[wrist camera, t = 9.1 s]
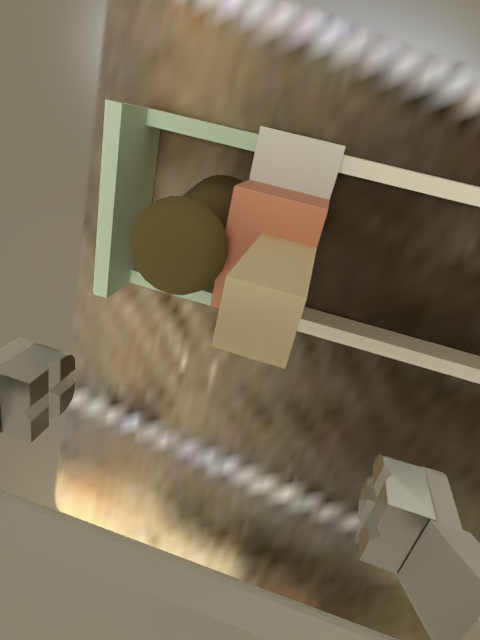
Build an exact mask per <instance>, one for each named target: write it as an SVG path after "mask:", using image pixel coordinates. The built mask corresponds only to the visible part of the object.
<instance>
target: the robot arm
mask: <svg viewBox="0 0 480 640" xmlns="http://www.w3.org/2000/svg"><path fill="white" fill-rule="evenodd" d="M74 370H75V358H74V357H73V356H72V355H71V354H68V353H65V352H62V351H60V350H57V349H54V348H51V347H48V346H45V345H42V344H38V343H36V342H33V341H30V340H27V339H24V338H19V339H16V340H14V341H13V342H11V343H9V344H7V345H6V346H4V347H2V348H1V349H0V433H3V434H7V435H9V436H12V437H16V438H19V439H22V440H25V441H28V442H32V441H33V440H34V439H35V438H37V437H38V436H39V435H40V434H41V433H42V432H43V431H44V430H45V429H46V428H47V427H48V426H49V419H50V418H53V417H56V416H60V415H61V414H62V413H63V412H64V411H65V410H66V409H67V407H68V405H69V404H70V402H71V400H72V398H73V394H74V390H75V382H74V380H73V379H72V377H71V375H70V373H71V372H72V371H74ZM358 516H359V520H360V521H361V523H362V524H363V527H362V529H361V531H360V533H359V554H360V560H361V561H364V562H367V563H369V564H372V565H374V566H377V567H380V568H382V569H385V570H387V571H390V572H393V573H395V574H398V575H397V578H398V579H399V581H400V583H401V585H402V587H403V589H404V590H405V592H406V594H407V596H408V598H409V600H410V602H411V603H412V605H413V607H414V609H415V611H416V613H417V614H418V616H419V618H420V620H421V622H422V624H423V626H424V627H425V629H426V631H427V633H428V635H429V637H430V638H431V640H480V543H479V542H478V541H477V540H476V539H475V538H474V537H473V536H472V535H471V533H469V532H467V531H464V530H463V529H462V525H461V522H460V519H459V515H458V512H457V509H456V505H455V502H454V498H453V495H452V492H451V488H450V485H449V482H448V478H447V476H446V475H445V474H444V473H443V472H439V471H436V470H432V469H429V468H426V467H420V466H417V465H414V464H410V463H407V462H404V461H401V460H398V459H395V458H391V457H388V456H385V455H382V454H379V455H378V457H377V458H376V460H375V462H374V464H373V476H372V477H370V478H368V479H366V481H365V484H364V486H363V488H362V492H361V496H360V500H359V509H358ZM0 640H398V639H396V638H393V637H390V636H388V635H385V634H382V633H380V632H377V631H374V630H372V629H369V628H366V627H364V626H361V625H359V624H356V623H353V622H351V621H348V620H345V619H343V618H340V617H337V616H335V615H332V614H329V613H327V612H324V611H321V610H319V609H316V608H313V607H311V606H308V605H305V604H303V603H300V602H297V601H295V600H292V599H290V598H287V597H284V596H282V595H279V594H276V593H274V592H271V591H268V590H266V589H263V588H261V587H258V586H255V585H253V584H250V583H247V582H245V581H242V580H239V579H237V578H234V577H231V576H229V575H226V574H224V573H221V572H218V571H216V570H213V569H210V568H208V567H205V566H202V565H200V564H197V563H194V562H192V561H189V560H187V559H184V558H181V557H179V556H176V555H173V554H171V553H168V552H165V551H163V550H160V549H157V548H155V547H152V546H149V545H147V544H144V543H142V542H139V541H136V540H134V539H131V538H128V537H126V536H123V535H120V534H118V533H115V532H112V531H110V530H107V529H104V528H102V527H99V526H96V525H94V524H91V523H88V522H86V521H83V520H81V519H78V518H75V517H73V516H70V515H67V514H65V513H62V512H59V511H57V510H54V509H51V508H49V507H46V506H43V505H40V504H38V503H35V502H33V501H30V500H27V499H25V498H22V497H20V496H16V495H14V494H11V493H9V492H6V491H4V490H1V489H0Z"/></svg>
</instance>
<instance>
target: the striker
mask: <svg viewBox="0 0 480 640" xmlns="http://www.w3.org/2000/svg"><path fill="white" fill-rule="evenodd" d="M345 147H346V146H343V145H339V144H334V143H330V142H326V141H322V140H318V139H313V138H309V137H305V136H301V135H297V134H292V133H288V132H284V131H280V130H276V129H271V128H267V127H263V126H260V130H259V135H258V140H257V145H256V149H255V154H254V159H253V163H252V168H251V173H250V177H249V180H246V181H244V182H242V183H239V184H237V185H234V189H233V194H232V199H231V204H230V209H229V214H228V220H227V225H226V230H225V233H226V236H227V258H226V261H225V264H224V268H223V270H222V271H221V272H220V274H219V275H218V276H217V278H216V280H215V285H214V290H213V295H212V300H211V305H210V306H212V307H215V308H219V312H218V317H217V322H216V327H215V331H214V336H213V341H212V346H211V347H214V348H217V349H221V350H224V351H227V352H231V353H234V354H237V355H241V356H244V357H247V358H251V359H254V360H257V361H260V362H264V363H267V364H270V365H274V366H277V367H280V368H284V369H285V368H286V365H287V361H288V358H289V355H290V352H291V348H292V345H293V342H294V339H295V335H296V332H297V329H298V326H299V322H300V319H301V316H302V313H303V309H304V306H305V303H306V300H307V295H308V290H309V285H310V280H311V275H312V270H313V265H314V260H315V255H316V250H317V246H318V242H319V239H320V236H321V232H322V229H323V226H324V222H325V219H326V216H327V212H328V208H329V201H330V197H331V194H332V190H333V187H334V184H335V180H336V177H337V174H338V170H339V167H340V164H341V160H342V157H343V154H344V150H345Z"/></svg>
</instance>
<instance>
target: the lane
mask: <svg viewBox="0 0 480 640" xmlns="http://www.w3.org/2000/svg"><path fill="white" fill-rule="evenodd" d="M161 129H164V130H168V131H172V132H176V133H180V134H184V135H188V136H192V137H196V138H201V139H205V140H209V141H213V142H217V143H221V144H225V145H229V146H233V147H237V148H241V149H245V150H249V151H254V152H255V149H256V145H257V140H258V135H259V134H257V133H253V132H249V131H245V130H241V129H237V128H232V127H228V126H224V125H220V124H216V123H212V122H207V121H203V120H199V119H195V118H191V117H187V116H182V115H178V114H174V113H170V112H166V111H162V110H157V109H153V108H149V107H144V106H138V105H133V104H128V103H122V102H117V101H112V100H106V99H105V114H104V130H103V146H102V161H101V177H100V192H99V208H98V224H97V239H96V255H95V270H94V286H93V294H94V295H98V296H101V297H105V298H107V297H109V296H110V295H112V294H113V293H115V292H116V291H118V290H119V289H121V288H122V287H124V286H125V285H127V284H128V283H133V284H137V285H140V286H144V287H147V288H151V289H154V290H157V291H160V290H158V289H156V288H155V287H153V286H152V285H151V284H150V283H148V282H147V281H146V280H145V279H144V278H143V277H142V275H141V274H140V273H139V271H138V270H137V269H136V266H135V264H134V261H133V259H132V256H131V250H130V236H131V231H132V226H133V225H134V223H135V221H136V220H137V218H138V216H139V215H140V213H141V212H142V211H143V210H144V209H145V208H147V207H148V206H149V205H150V204H151V203H152V198H153V190H154V181H155V173H156V164H157V156H158V147H159V139H160V131H161ZM338 172H339V173H343V174H347V175H351V176H355V177H360V178H364V179H368V180H372V181H376V182H380V183H384V184H388V185H392V186H396V187H400V188H404V189H408V190H413V191H417V192H421V193H425V194H429V195H433V196H437V197H441V198H445V199H449V200H453V201H457V202H461V203H466V204H470V205H474V206H478V207H480V187H478V186H474V185H470V184H466V183H461V182H457V181H453V180H449V179H445V178H441V177H436V176H432V175H428V174H424V173H420V172H416V171H411V170H407V169H403V168H399V167H395V166H391V165H386V164H382V163H378V162H374V161H370V160H366V159H361V158H357V157H353V156H349V155H345V154H343V157H342V160H341V164H340V167H339V170H338ZM214 285H215V281H214V282H213V283H212V284H210V285H209V286H207V287H206V288H204V289H203V290H201V291H199V292H195V293H191V294H187V295H175V296H178V297H182V298H185V299H189V300H192V301H195V302H199V303H202V304H206V305H209V306H210V305H211V300H212V295H213V290H214ZM161 292H163V291H161ZM164 293H165V292H164ZM171 295H173V294H171ZM297 331H299V332H302V333H306V334H309V335H313V336H316V337H320V338H323V339H327V340H330V341H334V342H337V343H340V344H344V345H347V346H351V347H354V348H358V349H361V350H365V351H368V352H371V353H375V354H378V355H382V356H385V357H389V358H392V359H396V360H399V361H403V362H406V363H409V364H413V365H416V366H420V367H423V368H427V369H430V370H434V371H437V372H441V373H444V374H447V375H451V376H454V377H458V378H461V379H465V380H468V381H472V382H475V383H478V384H480V356H478V355H474V354H470V353H467V352H463V351H460V350H456V349H453V348H449V347H446V346H442V345H439V344H435V343H432V342H428V341H424V340H421V339H417V338H414V337H410V336H407V335H403V334H400V333H396V332H393V331H389V330H386V329H382V328H378V327H375V326H371V325H368V324H364V323H361V322H357V321H354V320H350V319H347V318H343V317H340V316H336V315H333V314H329V313H325V312H322V311H318V310H315V309H311V308H308V307H304V309H303V313H302V316H301V319H300V322H299V326H298V329H297Z"/></svg>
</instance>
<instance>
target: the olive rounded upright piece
mask: <svg viewBox="0 0 480 640" xmlns="http://www.w3.org/2000/svg"><path fill="white" fill-rule="evenodd" d="M239 183H242V181H241V180H239V179H236V178H233V177H231V176H222V175H215V176H212V177H209V178H206V179H203V180H202V181H201V182H200V183H198V184H197V185H196V186H194V187H193V188H192V189H191V190H190V191H189V192H188V193H186V194H185V195H184V196H183V197H181V196H170V197H167V198H164V199H161V200H158V201H155V202H153V203H151V204H150V205H149V206H148V207H147V208H145V209H144V210H143V211H142V212H141V213H140V215H139V216H138V218H137V220H136V221H135V223H134V225H133V226H132V231H131V236H130V250H131V256H132V259H133V261H134V264H135V266H136V269H137V270H138V271H139V273H140V274H141V275H142V277H143V278H144V279H145V280H146V281H147V282H148V283H150V284H151V285H152V286H153V287H155V288H156V289H158V290H160V291H163V292H165V293H168V294H173V295H187V294H191V293H195V292H199V291H201V290H203V289H204V288H206V287H207V286H209V285H210V284H212V283H213V282H214V280H215V279H216V278H217V276H218V275H219V274H220V272H221V271H222V270H223V268H224V264H225V261H226V258H227V236H226V233H225V230H226V225H227V220H228V214H229V209H230V204H231V199H232V194H233V189H234V185H237V184H239Z"/></svg>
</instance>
